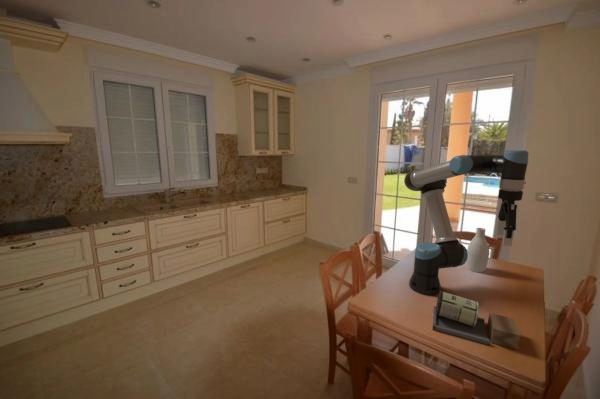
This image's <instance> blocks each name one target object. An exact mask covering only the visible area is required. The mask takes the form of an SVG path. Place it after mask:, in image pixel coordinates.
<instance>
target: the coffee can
mask: <svg viewBox="0 0 600 399" xmlns="http://www.w3.org/2000/svg"><path fill="white" fill-rule="evenodd" d="M435 307H436V315H440V316H443V317H446V318H449V319H452V320H455V321H458V322H461V323H464V324H467V325H470V326H473V327H475V325H476V322H477V318H478V317H479V311H480V309H479V308H480V306H479V301H477V300H474V299H473V300H472V299H469V298H467V297H462V296H461V295H460V296H459V295H455V294H453V293H449V292H446V291H442V289H441V290H440V291H439V294H437V299H436V306H435Z"/></svg>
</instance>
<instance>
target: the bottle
mask: <svg viewBox="0 0 600 399" xmlns="http://www.w3.org/2000/svg"><path fill="white" fill-rule="evenodd" d="M475 229H476V231H475V234H474V235H475V236H474V237H472V239H471V240H470V243H469V244H468V247H467V248H466V249H467V253H468V258H467V261H466V267H467V269H468V270H469V271H472V272H474V273H485V271H486V268H487V266H488V263H489V257H490V246H489V243H488V241H487V239H486V228H483V227H476V228H475Z"/></svg>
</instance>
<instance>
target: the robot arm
mask: <svg viewBox="0 0 600 399" xmlns="http://www.w3.org/2000/svg"><path fill="white" fill-rule="evenodd" d="M528 164H529V152H528V151H527V150H517V149H516V150H515V149H513V150H505V151H504V153H503V154H502V155H501V154H490V153H489V154H478V155H477V154H473V155H471V154H470V155H469V154H467V155H466V154H461V155H455V156H453V157H452V159H450V160H448V161H445V162H441V163H440V164H436V165H434V166H430V167H427V168H424V169H415V170H411V171H409V172H408V173H406V175H405V176H404V181H403V182H404V186H405V187H406V188H407V189H408V190H409V191H412V192H420V193H421V195H422V197H424V198H425V199H426V204H427V207H428V211H429V215H430V216H429V217H430V219H431V224H432V228H433V230H434V235H435V238H436V240H435V241H434V242H421V243H419V244H418V245H416V247H415V251H414V266H413V272H412V274H411V277H410V279H409V282H408V286H409V287H410V289H411V290H412V291H414V292H416V293H419V294H422V295H428V296H435V295H439V291H440V290H441V291H442V285H441V282H440V278H439V272H440V271H439V270H440V269H448V268H458V267H460V266H463V265H465V264H466V263H467V258H468V253H467V249H468V248H466V246H464V245H463V244H462V243H460V241H459V240H460V239H458V238H457V237H456V236H455V235H454V232H453V227H452V224H451V221H450V220H451V219H450V217H449V213H448V210H447V206H446V203H445V198H444V196H443V194H444V193H445V190H446V189H445V188H446V187H447V184H448V179H450V178H451V179H452V178H454V177H459V176H462V175H468V174H486V173H488V174H491V173H492V174H500V175H501V176H500V182H499V190H498V196H497V198H498V199H499V200H501V204H500V208H499V212H498V215H497V217H498V224H497V228H496V229H497V230H496V235H497V236H501V237H503V240H502V246H504V247H505V246H506V247H512V245H513V238H514V233H515V231H516V230H517V209H518V204H515V202H516V201H517V202H519V201H520V202H521V201H522V199H523V195H524V191H523V190H524V185H526V184H527V182H526V172H527V168H528Z"/></svg>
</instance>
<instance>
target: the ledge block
mask: <svg viewBox="0 0 600 399" xmlns="http://www.w3.org/2000/svg"><path fill="white" fill-rule="evenodd" d="M486 326H487V330H488V335H489V340H490V342H491V344H495V345H498V346H502V347H506V348H509V349H513V350H515V351H516V350H517V351H518V350H519V347H520V346H519V345H520V341H521V340H520V339H521V333H520V331H519V328H518V326H517V324H516V320H515V319H514V318H513V317H509V316H505V315H500V314H497V313H496V314H495V313H492V312H488V319H487V325H486Z"/></svg>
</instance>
